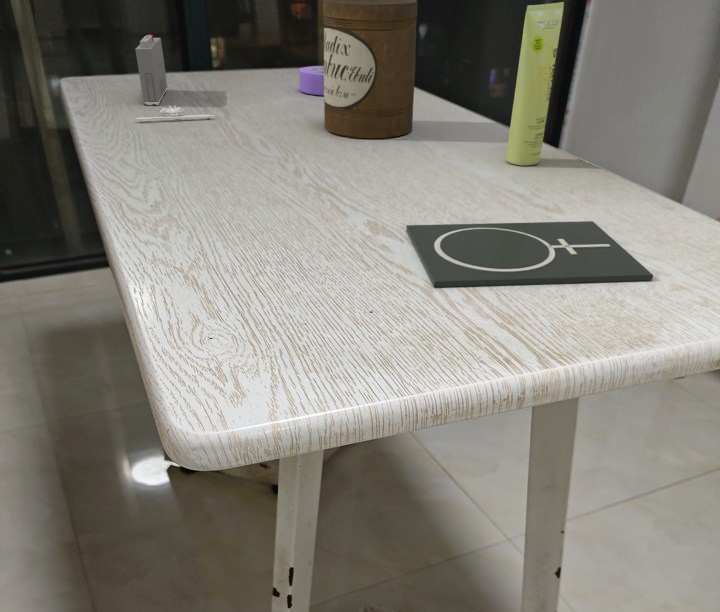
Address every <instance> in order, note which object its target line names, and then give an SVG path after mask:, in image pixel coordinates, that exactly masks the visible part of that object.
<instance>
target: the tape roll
mask: <svg viewBox="0 0 720 612" xmlns="http://www.w3.org/2000/svg"><path fill="white" fill-rule="evenodd" d="M298 72H299V91H300V92H301V93H304V94H307V95H314V96H324V65H312V66H305V67H301V68H299V71H298Z"/></svg>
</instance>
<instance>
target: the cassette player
mask: <svg viewBox="0 0 720 612" xmlns="http://www.w3.org/2000/svg"><path fill="white" fill-rule="evenodd" d="M134 50H135V55H136V61H137V62H136V63H137V68H138V69H137V70H138V74H139V75H138V76H139V80H140V81H139V82H140V88H141V93H142V94H141V95H142V101H143V103H144V102H159V100H160V99H161V97H162V95H163V93H164V92H165V90H166V88H168V81H167V74H166V67H165V59H164V51H163V46H162V38H161V37H154V35H153V34H146V35H145V36H144V37H143V38H142V39H141V40H140V41H139V45H137V47H135V48H134Z"/></svg>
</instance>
